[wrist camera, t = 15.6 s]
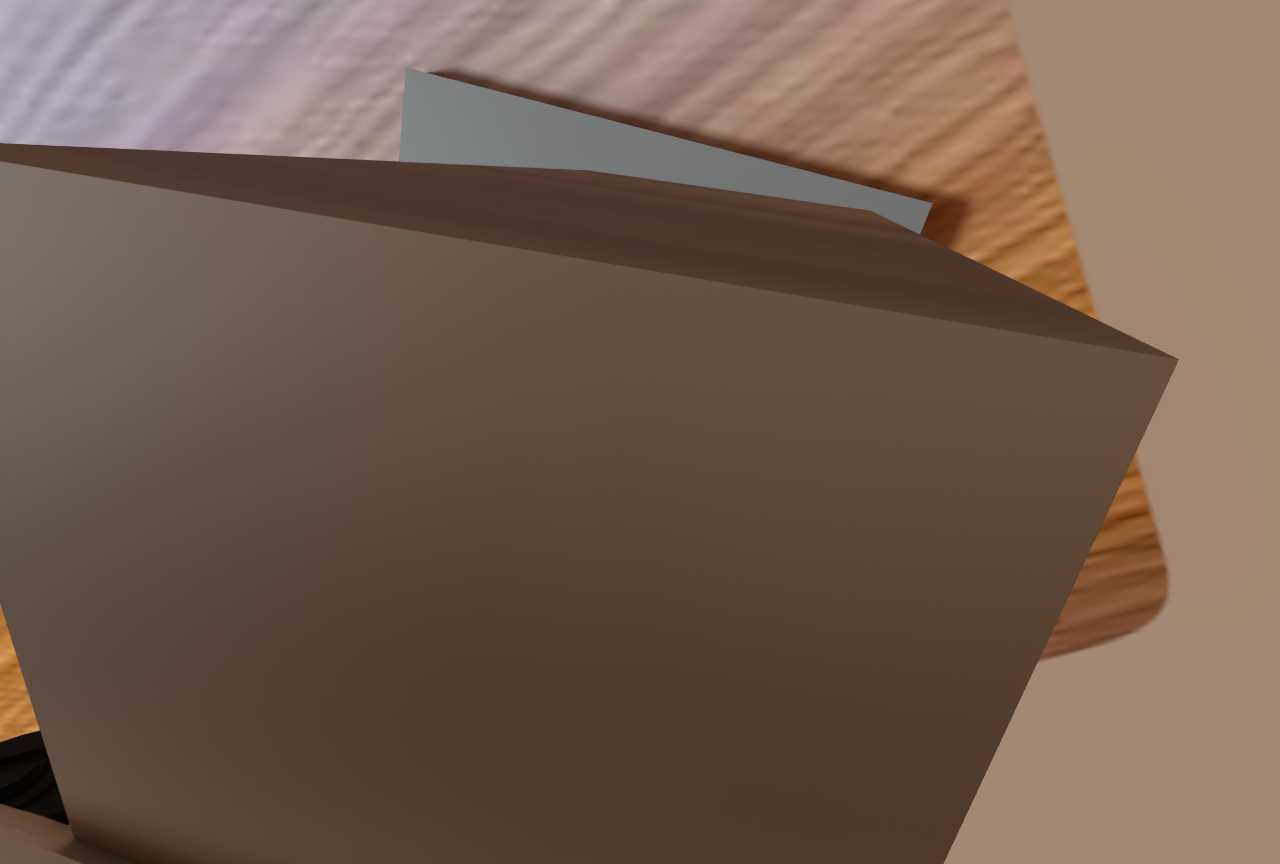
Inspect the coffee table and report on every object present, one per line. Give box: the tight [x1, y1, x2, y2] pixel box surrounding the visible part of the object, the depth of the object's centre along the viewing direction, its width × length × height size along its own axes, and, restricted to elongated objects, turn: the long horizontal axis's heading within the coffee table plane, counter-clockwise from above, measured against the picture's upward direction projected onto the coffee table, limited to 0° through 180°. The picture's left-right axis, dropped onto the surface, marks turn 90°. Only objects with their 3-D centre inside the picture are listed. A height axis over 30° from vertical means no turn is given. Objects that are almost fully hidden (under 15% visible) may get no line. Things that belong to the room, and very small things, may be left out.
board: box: [399, 68, 932, 234], centre depth 31 cm, size 23×18×2 cm
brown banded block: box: [0, 143, 1179, 864], centre depth 10 cm, size 14×5×10 cm, turn 172°
